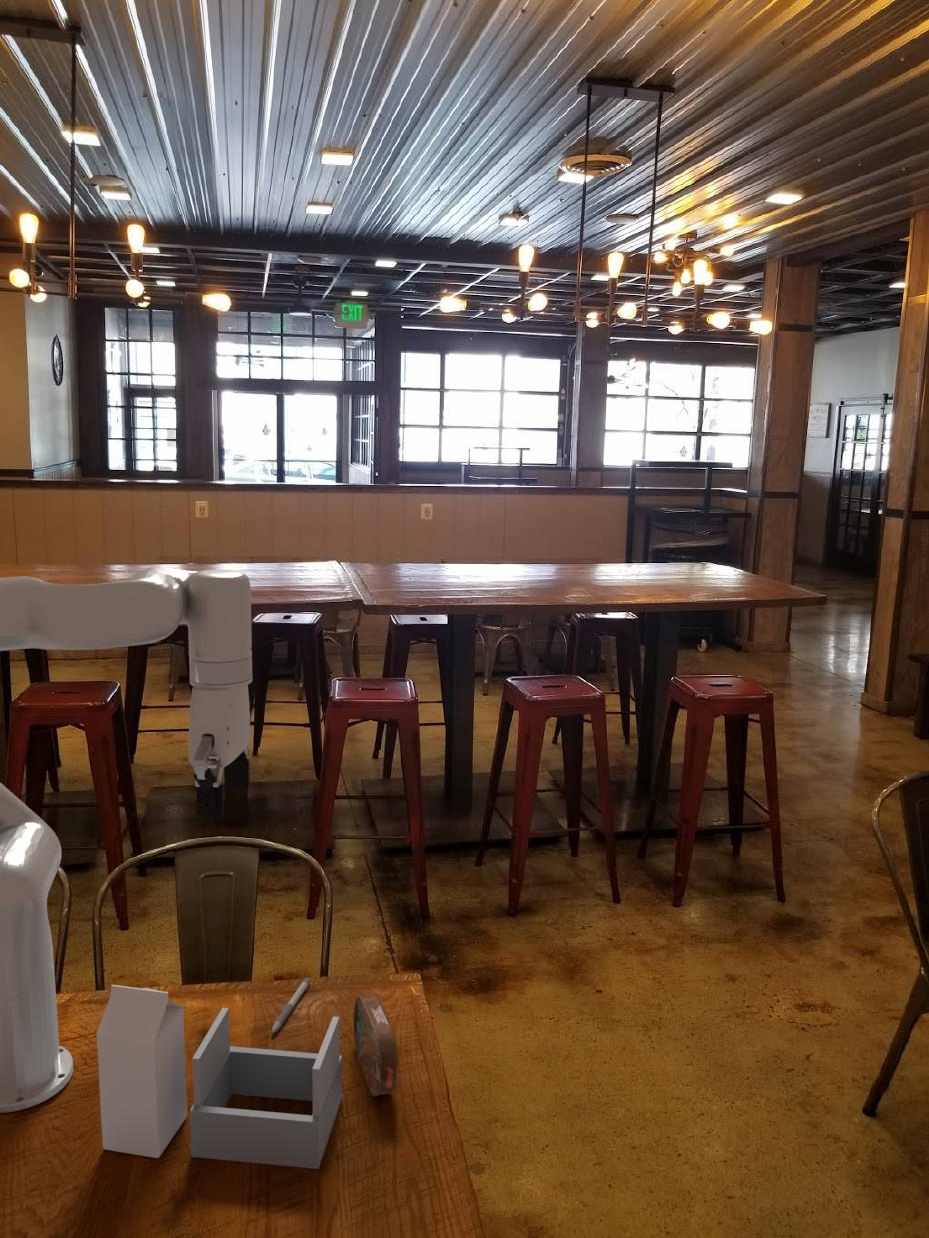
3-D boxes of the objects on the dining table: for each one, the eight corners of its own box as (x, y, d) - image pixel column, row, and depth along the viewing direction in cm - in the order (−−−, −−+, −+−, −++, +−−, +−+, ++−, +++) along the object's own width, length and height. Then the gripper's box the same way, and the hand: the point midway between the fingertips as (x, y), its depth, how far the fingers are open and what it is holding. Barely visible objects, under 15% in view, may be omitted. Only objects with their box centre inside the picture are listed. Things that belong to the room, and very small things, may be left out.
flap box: (191, 1156, 111) (188, 1063, 109) (226, 1087, 123) (224, 1002, 120) (318, 1168, 110) (318, 1075, 107) (342, 1098, 121) (341, 1012, 119)
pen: (311, 984, 147) (311, 975, 146) (275, 1039, 133) (275, 1029, 133) (305, 983, 147) (305, 974, 147) (268, 1037, 133) (268, 1028, 133)
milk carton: (159, 1159, 110) (152, 1010, 107) (102, 1150, 112) (94, 1002, 108) (187, 1117, 117) (182, 975, 114) (134, 1109, 119) (127, 968, 115)
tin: (351, 1039, 133) (351, 984, 132) (373, 1035, 134) (374, 980, 133) (376, 1111, 119) (376, 1051, 118) (400, 1106, 120) (401, 1046, 119)
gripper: (216, 653, 127) (219, 776, 131) (163, 686, 111) (168, 826, 114) (271, 656, 127) (273, 779, 130) (226, 689, 110) (230, 830, 113)
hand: (224, 801), depth 122 cm, fingers open, 9 cm apart
